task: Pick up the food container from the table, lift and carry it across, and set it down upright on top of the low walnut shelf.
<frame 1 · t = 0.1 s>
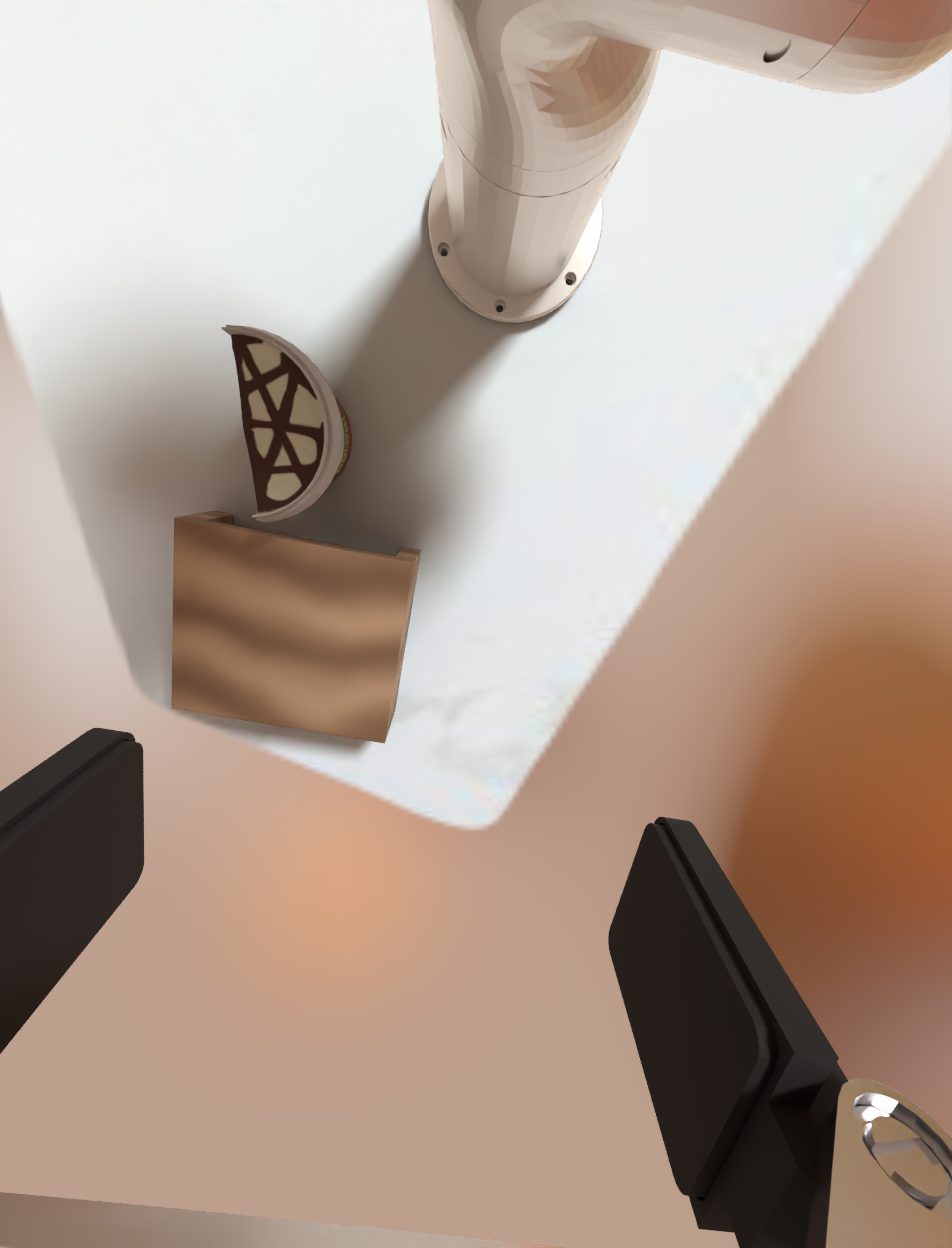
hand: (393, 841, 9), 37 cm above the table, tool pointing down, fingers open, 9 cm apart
walnut shelf: (310, 617, 46), on the table
food container: (329, 435, 42), on the table
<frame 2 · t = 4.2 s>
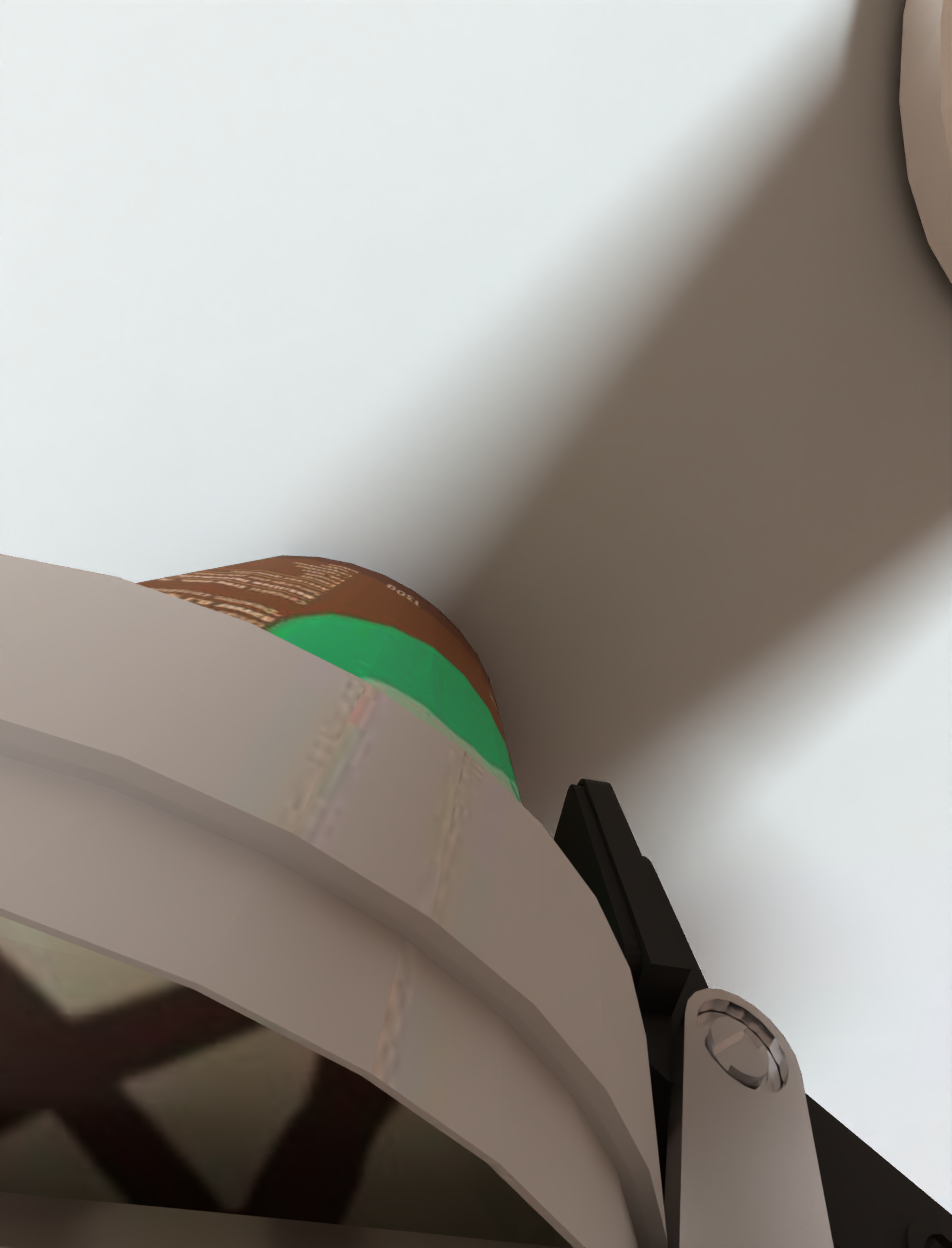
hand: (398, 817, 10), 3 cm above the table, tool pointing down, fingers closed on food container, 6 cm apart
food container: (426, 728, 13), on the table, touching gripper
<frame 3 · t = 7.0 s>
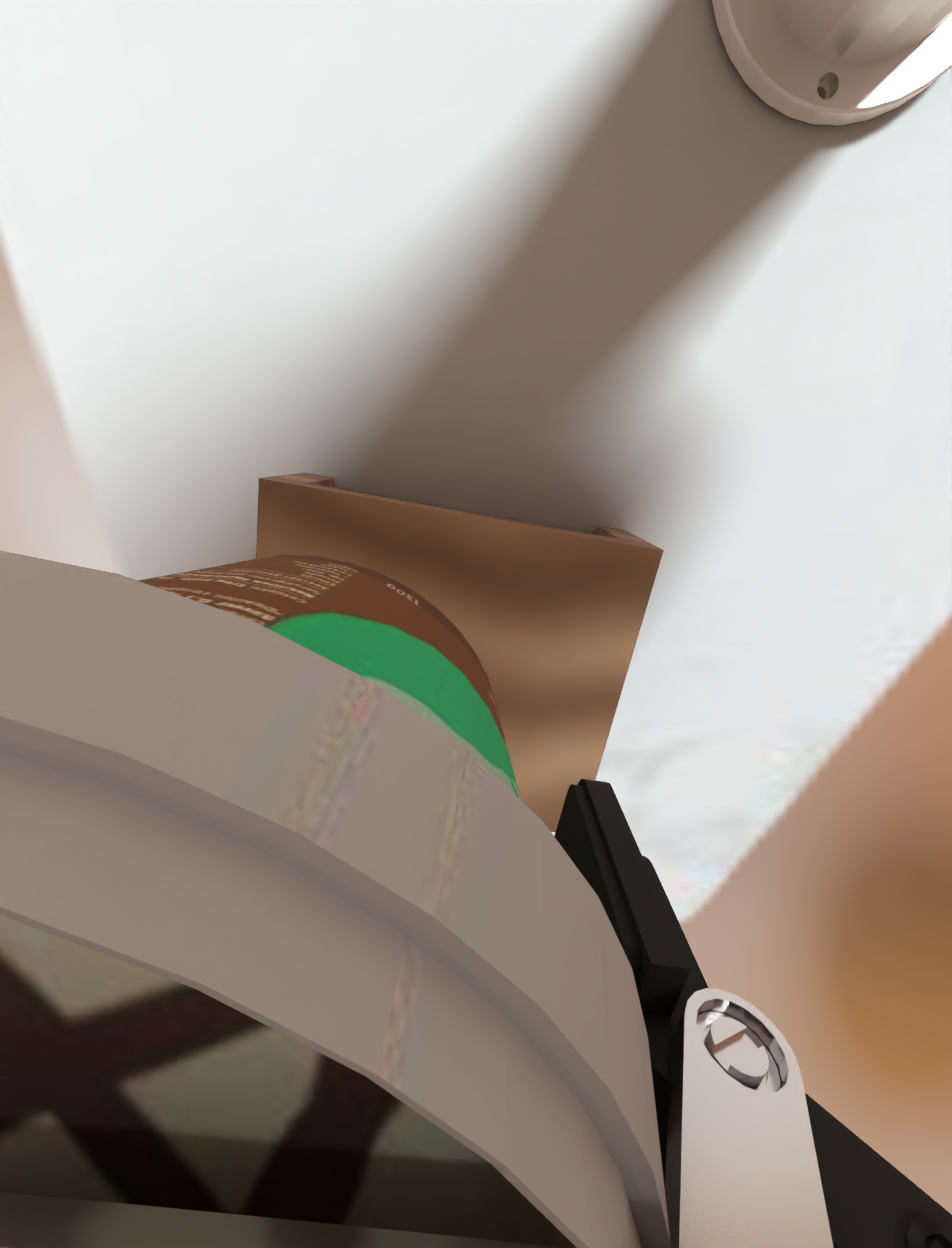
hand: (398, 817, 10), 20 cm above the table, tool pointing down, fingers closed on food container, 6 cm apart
walnut shelf: (445, 636, 30), on the table
food container: (426, 727, 13), point 17 cm above the table, touching gripper
when the fingers open (10 cm above the table, at t = 9.9 s): food container drops 1 cm, resting on walnut shelf.
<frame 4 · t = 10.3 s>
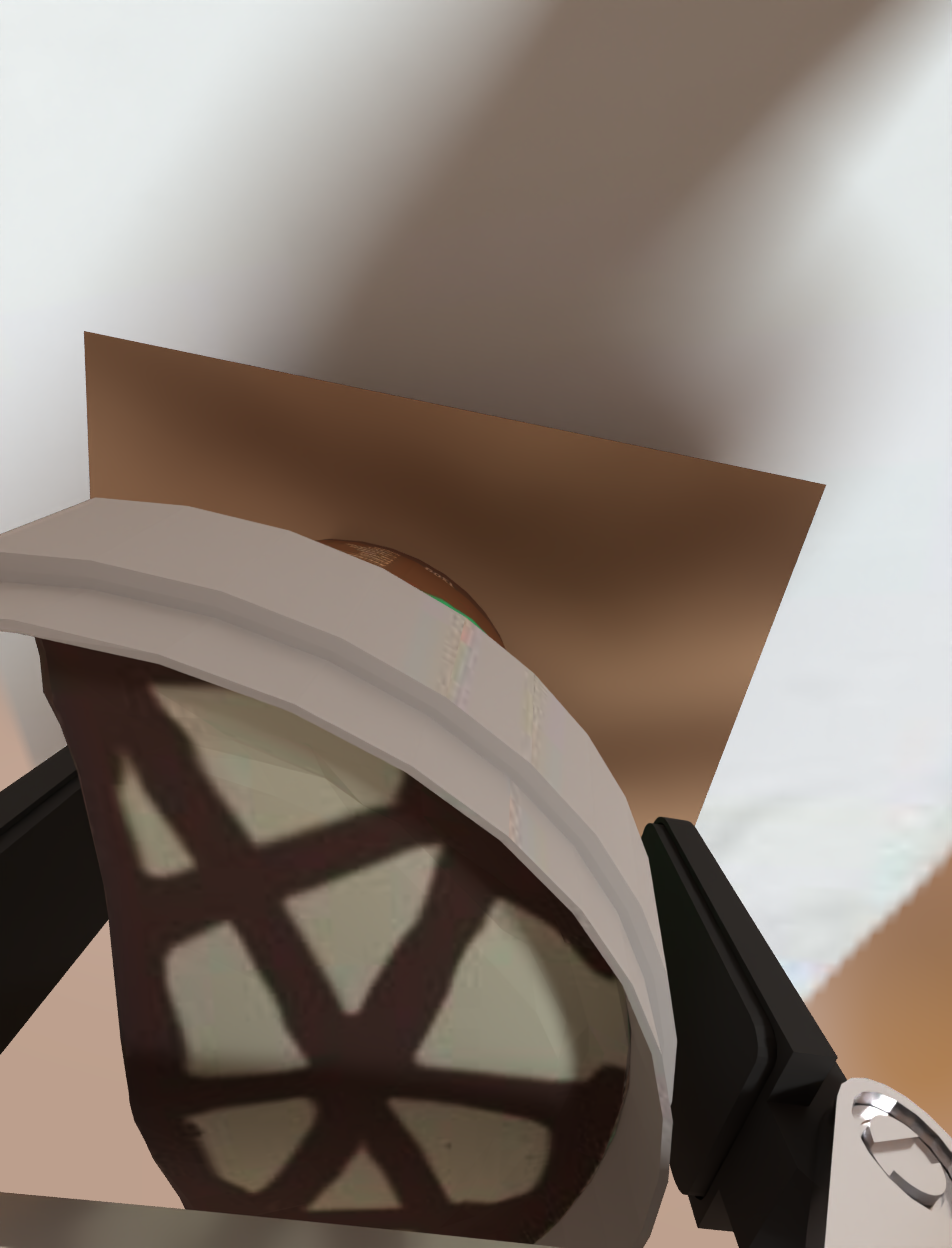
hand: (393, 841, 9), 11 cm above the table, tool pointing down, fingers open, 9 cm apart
walnut shelf: (435, 639, 20), on the table
food container: (450, 701, 14), point 6 cm above the table, touching walnut shelf
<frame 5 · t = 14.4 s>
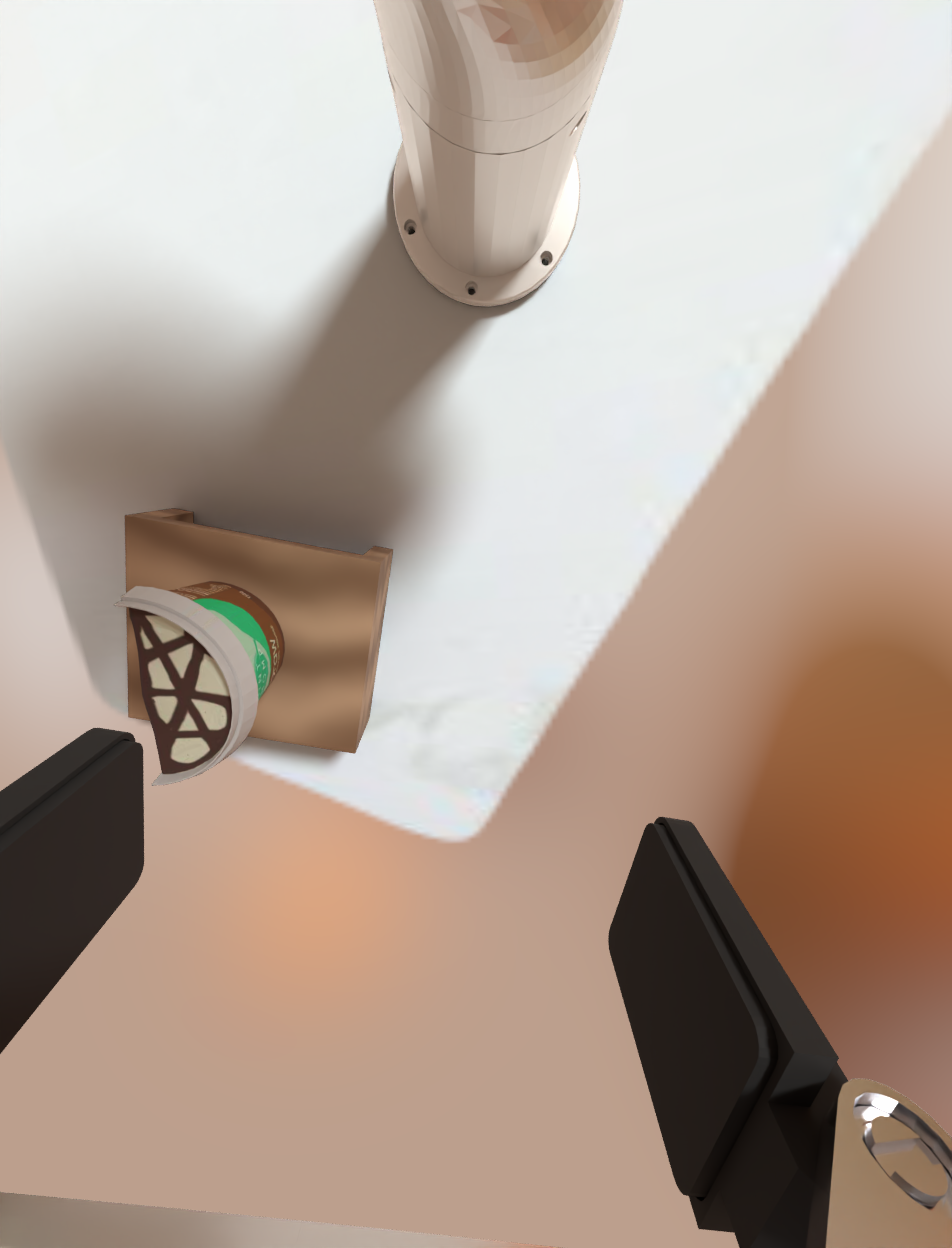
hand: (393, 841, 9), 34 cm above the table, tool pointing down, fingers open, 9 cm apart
walnut shelf: (277, 620, 44), on the table
food container: (260, 641, 38), point 6 cm above the table, touching walnut shelf
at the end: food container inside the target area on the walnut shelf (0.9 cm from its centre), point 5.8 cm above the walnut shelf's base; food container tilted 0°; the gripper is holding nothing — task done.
